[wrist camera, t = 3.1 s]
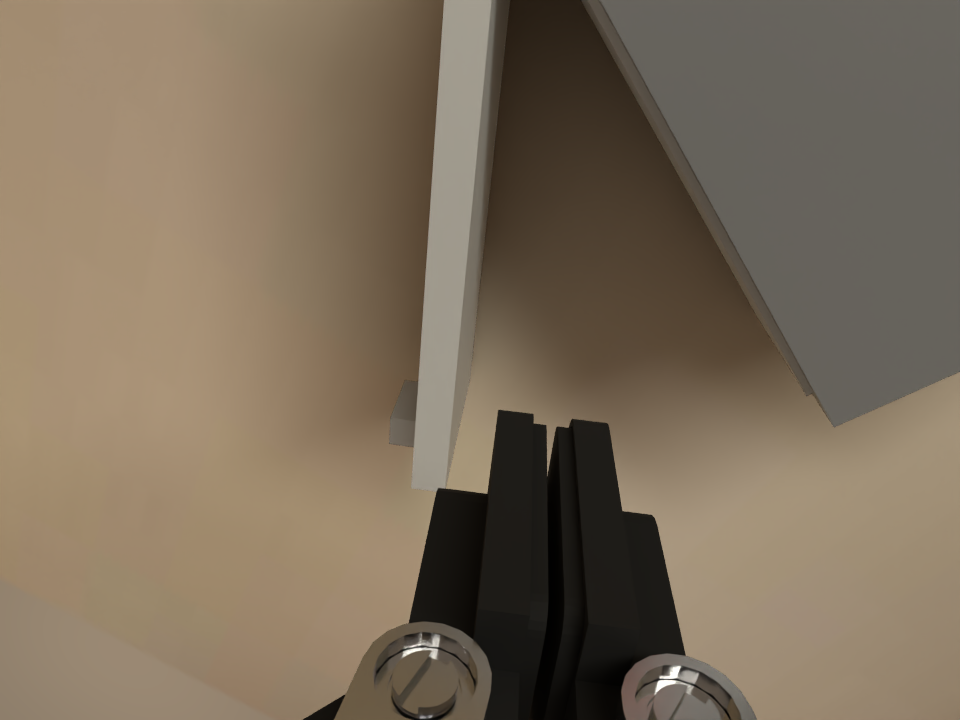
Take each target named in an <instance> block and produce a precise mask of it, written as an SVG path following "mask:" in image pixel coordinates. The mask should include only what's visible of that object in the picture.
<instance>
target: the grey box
mask: <svg viewBox="0 0 960 720" xmlns="http://www.w3.org/2000/svg"><path fill="white" fill-rule="evenodd" d="M581 1H582V3H583V5H584V7H585V9H586V10H587V12H588V14H589V16H590V17H591V19H592V21H593V23H594V25H595V26H596V28H597V30H598V32H599V34H600V35H601V37H602V39H603V41H604V43H605V44H606V46H607V48H608V50H609V52H610V53H611V55H612V57H613V59H614V61H615V62H616V64H617V66H618V68H619V70H620V71H621V73H622V75H623V77H624V79H625V80H626V82H627V84H628V86H629V88H630V89H631V91H632V93H633V95H634V97H635V98H636V100H637V102H638V104H639V106H640V107H641V109H642V111H643V113H644V115H645V116H646V118H647V120H648V122H649V123H650V125H651V127H652V129H653V131H654V132H655V134H656V136H657V138H658V140H659V141H660V143H661V145H662V147H663V149H664V150H665V152H666V154H667V156H668V158H669V159H670V161H671V163H672V165H673V167H674V168H675V170H676V172H677V174H678V176H679V177H680V179H681V181H682V183H683V185H684V186H685V188H686V190H687V192H688V194H689V195H690V197H691V199H692V201H693V203H694V204H695V206H696V208H697V210H698V212H699V213H700V215H701V217H702V219H703V221H704V222H705V224H706V226H707V228H708V229H709V231H710V233H711V235H712V237H713V238H714V240H715V242H716V244H717V246H718V247H719V249H720V251H721V253H722V255H723V256H724V258H725V260H726V262H727V264H728V265H729V267H730V269H731V271H732V273H733V274H734V276H735V278H736V280H737V282H738V283H739V285H740V287H741V289H742V291H743V292H744V294H745V296H746V298H747V300H748V301H749V303H750V305H751V307H752V309H753V310H754V312H755V314H756V316H757V317H758V319H759V320H760V322H761V324H762V325H763V327H764V328H765V330H766V332H767V333H768V335H769V336H770V338H771V340H772V341H773V343H774V345H775V346H776V348H777V349H778V351H779V353H780V354H781V356H782V357H783V359H784V361H785V362H786V364H787V365H788V367H789V369H790V370H791V372H792V373H793V375H794V377H795V378H796V380H797V381H798V383H799V385H800V386H801V388H802V389H803V391H804V393H805V394H806V396H808V395H810V394H813V396H814V397H815V399H816V400H817V402H818V403H819V405H820V406H821V408H822V410H823V411H824V413H825V414H826V416H827V417H828V419H829V420H830V422H831V424H832V425H833V427H836V426H838V425H840V424H843V423H845V422H847V421H850V420H852V419H854V418H856V417H859V416H861V415H863V414H865V413H868V412H870V411H872V410H874V409H877V408H879V407H881V406H883V405H886V404H888V403H890V402H892V401H895V400H897V399H899V398H901V397H904V396H906V395H908V394H911V393H913V392H915V391H917V390H920V389H922V388H924V387H926V386H929V385H931V384H933V383H935V382H938V381H940V380H942V379H944V378H947V377H949V376H951V375H953V374H956V373H958V372H960V0H581Z"/></svg>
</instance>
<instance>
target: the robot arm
mask: <svg viewBox="0 0 960 720" xmlns="http://www.w3.org/2000/svg"><path fill="white" fill-rule="evenodd" d="M533 422H534V416H533V414H528V413H520V412H512V411H504V410H498V416H497V424H496V432H495V439H494V447H493V455H492V462H491V470H490V478H489V486H488V493H487V494H483V493H476V492H468V491H460V490H452V489H444V488H438V489H437V493H436V497H435V502H434V506H433V511H432V516H431V521H430V525H429V530H428V535H427V539H426V544H425V549H424V554H423V558H422V563H421V568H420V573H419V577H418V582H417V587H416V591H415V596H414V601H413V606H412V610H411V615H410V620H409V623H408V624H404V625H401V626H399V627H396V628H394V629H391V630H389V631H387V632H386V633H384V634H383V635H382V636H381V637H379V638H378V639H377V640H375V641H374V642H373V643H372V645H371V646H370V648H369V649H368V651H367V652H366V653H365V655H364V656H363V658H362V660H361V662H360V665H359V667H358V669H357V671H356V673H355V675H354V678H353V680H352V682H351V684H350V686H349V688H348V691H347V693H346V694H345V695H343V696H342V697H340V698H338V699H337V700H335V701H333V702H332V703H330V704H328V705H327V706H325V707H323V708H322V709H320V710H318V711H317V712H315V713H313V714H312V715H310V716H308V717H307V718H305V719H303V720H757V719H756V716H755V714H754V712H753V710H752V708H751V706H750V705H749V703H748V702H747V700H746V698H745V697H744V695H743V694H742V692H741V691H740V690H739V689H738V688H737V687H736V686H735V685H734V684H733V683H732V682H731V681H730V680H729V679H728V678H727V677H726V676H725V675H724V674H722V673H721V672H719V671H717V670H716V669H714V668H713V667H711V666H710V665H708V664H706V663H704V662H701V661H699V660H696V659H693V658H691V657H688V656H686V655H685V651H684V646H683V641H682V637H681V632H680V628H679V623H678V619H677V614H676V609H675V605H674V600H673V596H672V591H671V587H670V582H669V577H668V573H667V568H666V564H665V559H664V555H663V550H662V545H661V541H660V536H659V532H658V527H657V524H656V521H655V518H654V517H653V516H652V515H648V514H640V513H632V512H624V511H622V507H621V500H620V494H619V488H618V481H617V475H616V468H615V462H614V456H613V449H612V443H611V437H610V430H609V426H608V424H607V423H600V422H592V421H584V420H576V419H572V420H571V422H570V425H569V428H565V427H557V428H556V431H555V436H554V442H553V448H552V454H551V459H550V465H549V471H548V476H547V430H546V425H541V424H533Z"/></svg>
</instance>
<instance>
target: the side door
mask: <svg viewBox="0 0 960 720" xmlns="http://www.w3.org/2000/svg"><path fill="white" fill-rule="evenodd" d="M509 7H510V0H444V10H443V24H442V39H441V54H440V69H439V84H438V98H437V113H436V128H435V143H434V158H433V172H432V187H431V202H430V217H429V232H428V247H427V261H426V276H425V291H424V306H423V321H422V335H421V350H420V365H419V380H418V382H415V381H408V380H405V382H404V384H403V387H402V390H401V392H400V395H399V397H398V400H397V402H396V405H395V407H394V410H393V413H392V415H391V418H390V437H389V444H393V445H401V446H408V447H414V454H413V469H412V484H411V488H413V489H420V490H428V491H435V492H437V489H438V488H444V489H446V485H447V481H448V476H449V472H450V467H451V463H452V458H453V454H454V449H455V445H456V440H457V436H458V431H459V427H460V422H461V418H462V413H463V409H464V404H465V400H466V395H467V391H468V386H469V382H470V375H471V366H472V356H473V347H474V337H475V328H476V319H477V309H478V300H479V290H480V281H481V271H482V262H483V252H484V243H485V234H486V224H487V215H488V205H489V196H490V186H491V177H492V167H493V158H494V149H495V139H496V130H497V120H498V111H499V101H500V92H501V82H502V73H503V64H504V54H505V45H506V35H507V26H508V16H509Z"/></svg>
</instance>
